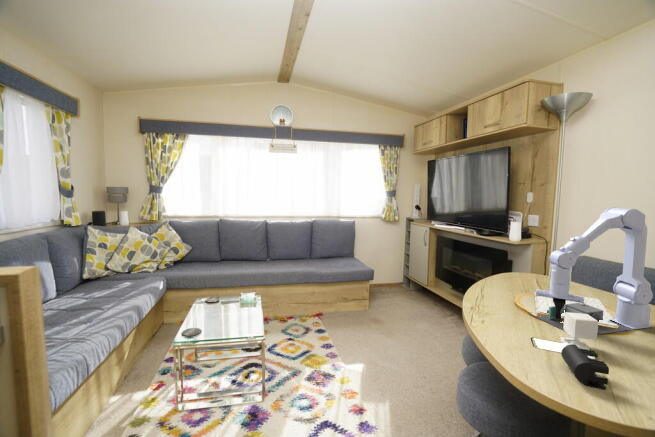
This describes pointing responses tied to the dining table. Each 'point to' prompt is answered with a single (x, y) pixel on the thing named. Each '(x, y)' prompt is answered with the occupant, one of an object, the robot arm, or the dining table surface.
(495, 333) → the dining table surface
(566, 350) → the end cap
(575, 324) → the security camera
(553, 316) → the side door
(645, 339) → the dining table surface
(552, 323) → the mat
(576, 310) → the housing
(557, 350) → the smartphone
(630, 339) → the dining table surface
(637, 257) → the robot arm
